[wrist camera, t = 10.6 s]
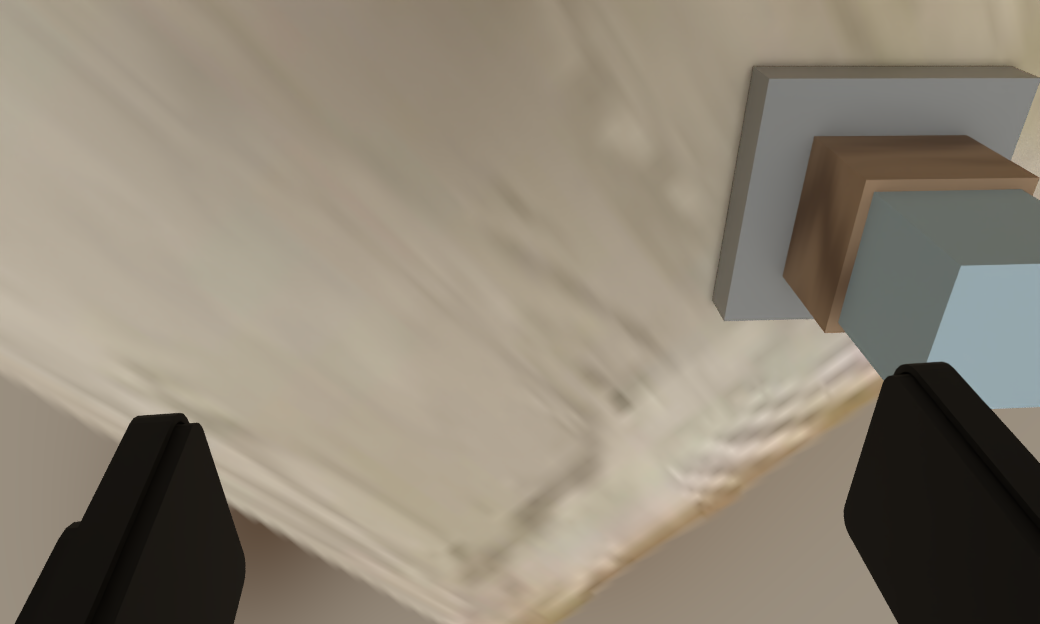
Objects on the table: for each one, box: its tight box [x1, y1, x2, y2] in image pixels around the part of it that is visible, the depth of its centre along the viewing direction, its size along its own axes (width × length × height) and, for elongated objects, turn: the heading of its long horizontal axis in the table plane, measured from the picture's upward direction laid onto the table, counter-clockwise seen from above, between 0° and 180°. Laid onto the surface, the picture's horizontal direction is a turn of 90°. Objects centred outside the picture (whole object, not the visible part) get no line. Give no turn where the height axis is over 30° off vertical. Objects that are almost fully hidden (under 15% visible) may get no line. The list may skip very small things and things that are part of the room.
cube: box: [838, 189, 1040, 409], centre depth 29 cm, size 6×6×6 cm
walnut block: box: [783, 135, 1039, 333], centre depth 34 cm, size 7×7×5 cm
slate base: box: [712, 66, 1040, 321], centre depth 37 cm, size 12×12×2 cm
